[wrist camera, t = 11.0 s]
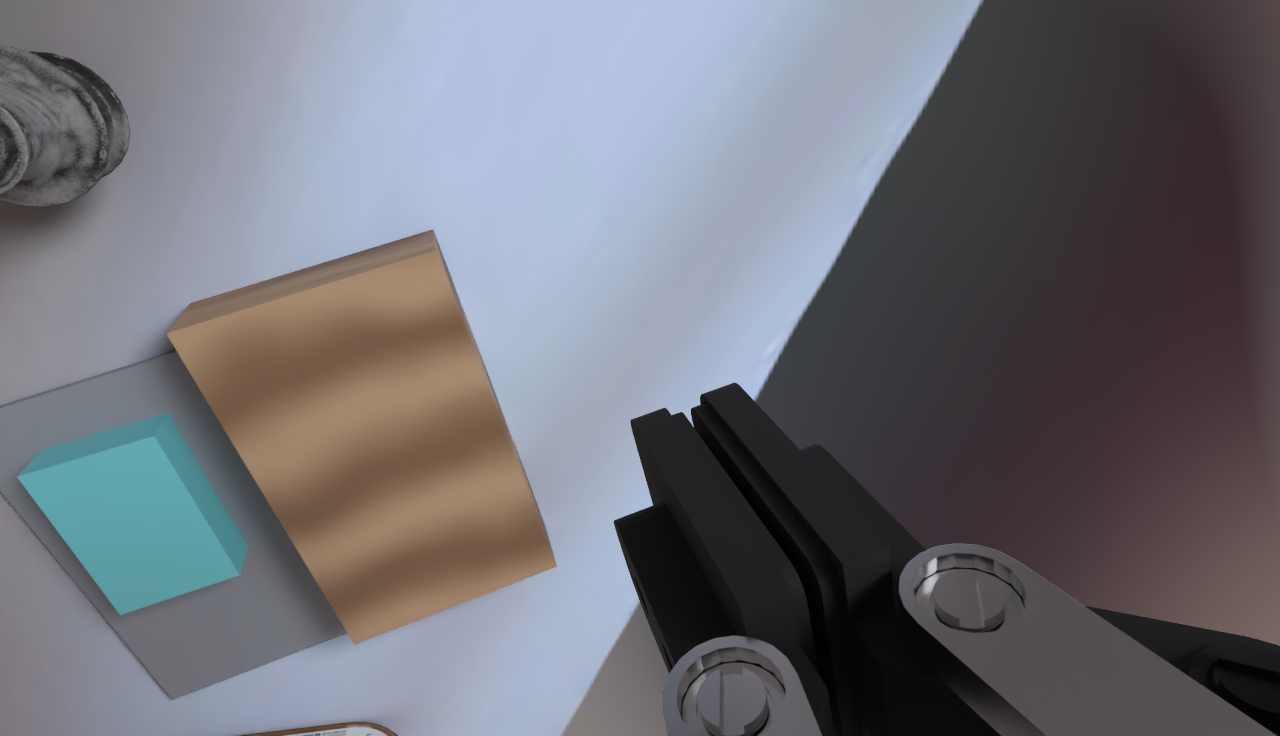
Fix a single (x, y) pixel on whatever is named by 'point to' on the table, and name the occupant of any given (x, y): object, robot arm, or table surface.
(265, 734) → the tin
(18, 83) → the grey chess piece
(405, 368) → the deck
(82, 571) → the mat
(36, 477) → the turquoise foam pad
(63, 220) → the table surface
